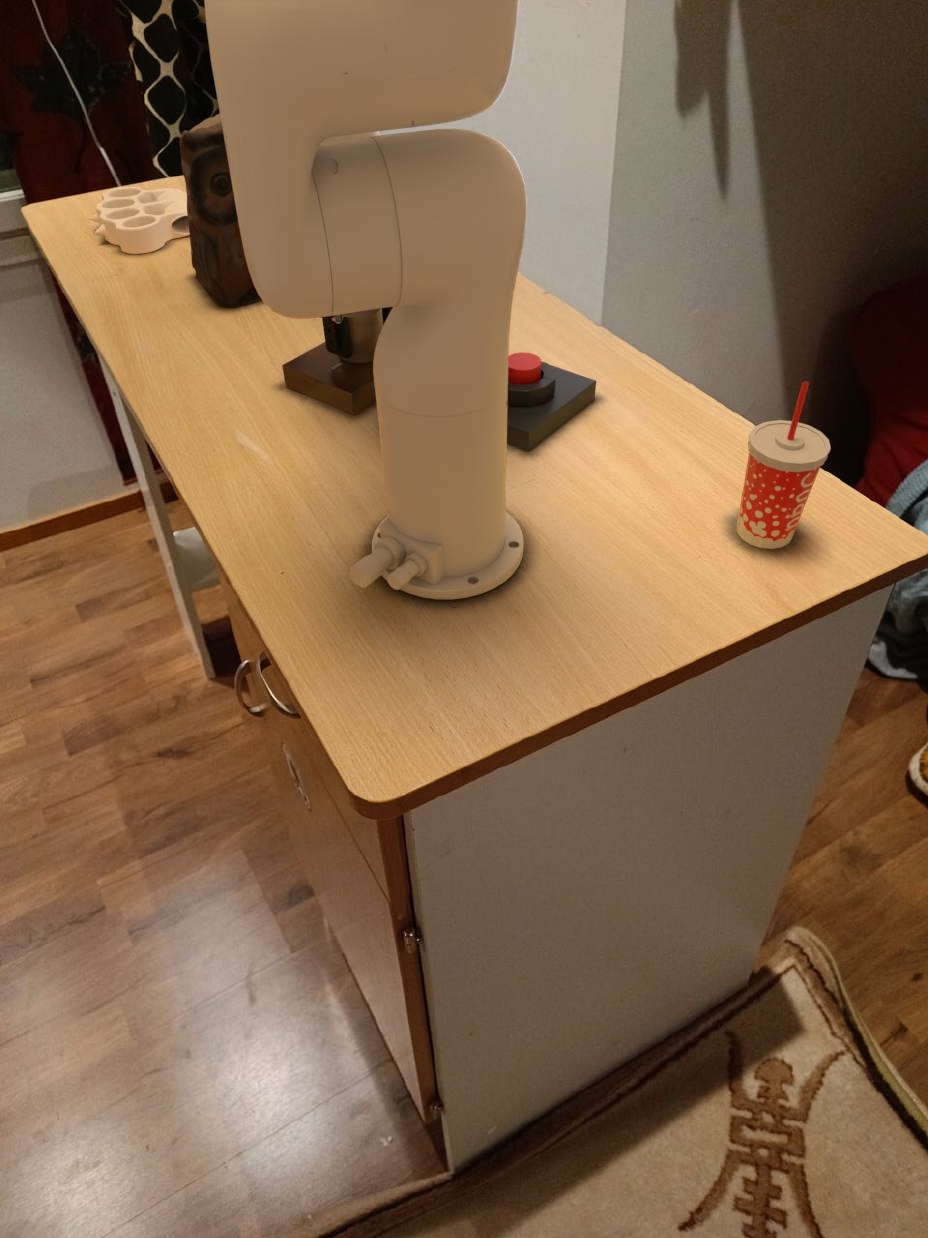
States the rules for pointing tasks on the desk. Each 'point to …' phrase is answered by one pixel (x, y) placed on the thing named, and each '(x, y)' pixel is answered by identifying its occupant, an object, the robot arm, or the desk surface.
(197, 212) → the owl
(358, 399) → the dimmer panel
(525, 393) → the switch block
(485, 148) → the robot arm
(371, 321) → the dimmer knob
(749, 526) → the beverage cup
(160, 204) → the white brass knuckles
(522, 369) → the power button
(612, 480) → the desk surface
